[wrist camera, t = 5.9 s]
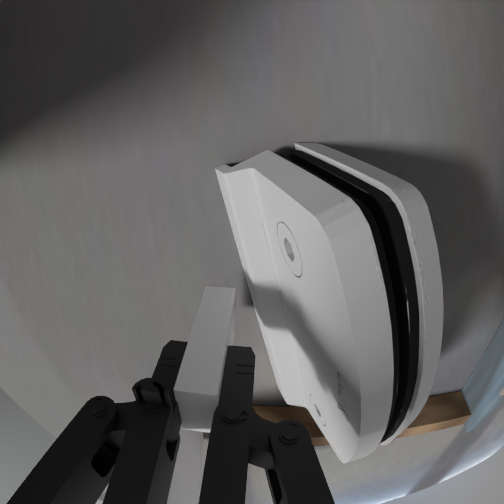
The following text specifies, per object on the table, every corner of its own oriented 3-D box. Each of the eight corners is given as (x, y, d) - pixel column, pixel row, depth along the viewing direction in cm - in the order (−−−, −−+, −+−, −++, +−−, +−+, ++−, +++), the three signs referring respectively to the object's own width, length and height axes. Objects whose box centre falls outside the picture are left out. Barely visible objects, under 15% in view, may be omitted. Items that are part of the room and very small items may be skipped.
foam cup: (109, 412, 25) (69, 523, 14) (135, 370, 21) (81, 521, 10) (193, 449, 27) (175, 558, 16) (240, 417, 24) (227, 560, 12)
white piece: (212, 160, 14) (310, 215, 5) (302, 136, 15) (468, 164, 6) (279, 390, 22) (338, 500, 13) (335, 365, 22) (408, 461, 13)
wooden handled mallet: (246, 414, 23) (243, 457, 20) (254, 217, 15) (249, 257, 12) (468, 397, 23) (482, 428, 19) (548, 243, 15) (581, 271, 11)
